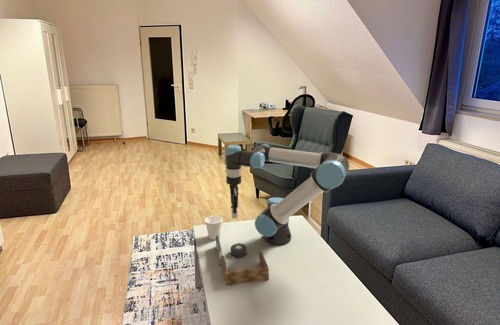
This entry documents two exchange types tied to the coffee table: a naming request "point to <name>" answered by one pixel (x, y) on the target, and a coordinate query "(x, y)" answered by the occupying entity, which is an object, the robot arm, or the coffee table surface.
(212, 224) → the cup
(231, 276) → the bay
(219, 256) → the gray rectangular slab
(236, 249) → the coil
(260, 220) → the robot arm
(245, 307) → the coffee table surface
